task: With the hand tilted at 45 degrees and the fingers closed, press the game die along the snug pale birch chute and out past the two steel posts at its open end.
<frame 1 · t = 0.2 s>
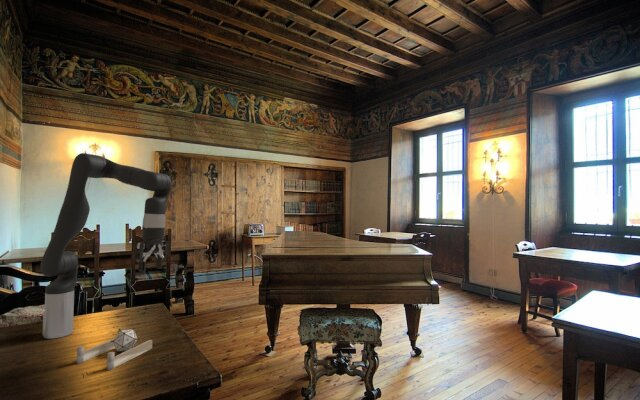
hand: (150, 270, 120), 29 cm above the table, tool pointing down, fingers open, 8 cm apart
chute: (117, 354, 115), on the table
game die: (125, 351, 118), on the table
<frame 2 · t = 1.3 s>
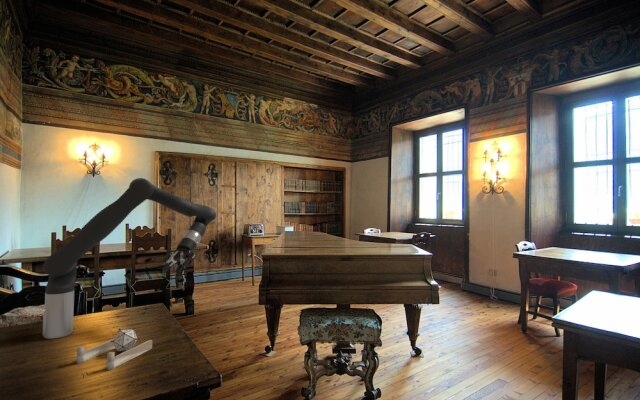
hand: (170, 272, 139), 24 cm above the table, tool tilted 45°, fingers open, 6 cm apart
nothing on the table moved.
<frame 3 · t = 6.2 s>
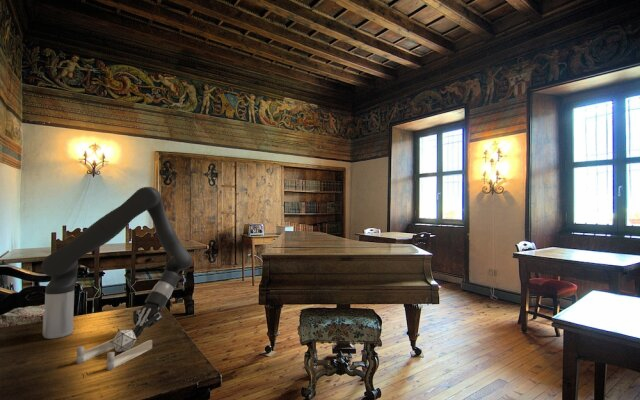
hand: (134, 336, 121), 4 cm above the table, tool tilted 45°, fingers closed
game die: (124, 352, 117), on the table, touching gripper
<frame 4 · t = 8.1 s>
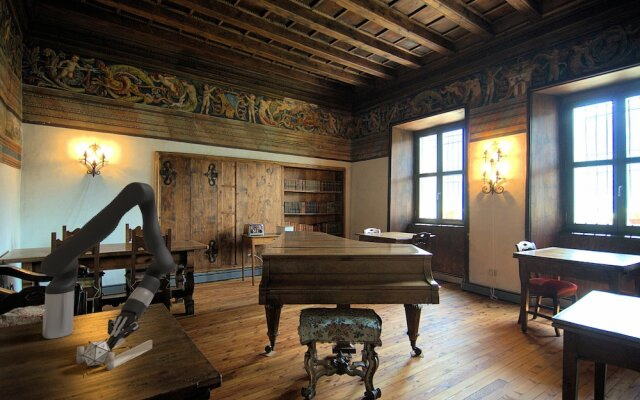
hand: (107, 348, 111), 4 cm above the table, tool tilted 45°, fingers closed
game die: (96, 365, 107), on the table, touching gripper
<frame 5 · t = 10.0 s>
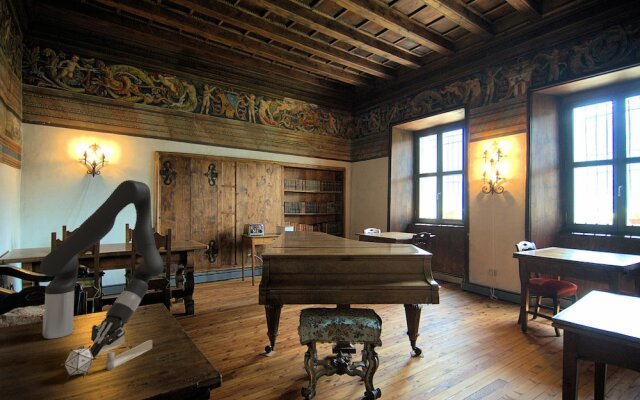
hand: (90, 356, 105), 4 cm above the table, tool tilted 45°, fingers closed
game die: (79, 374, 101), on the table, touching gripper
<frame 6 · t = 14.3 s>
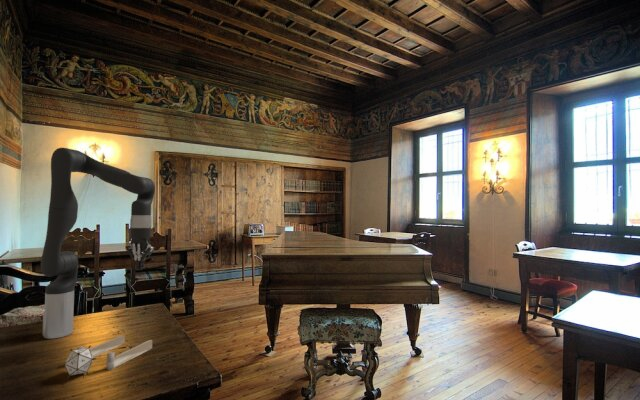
hand: (139, 269, 131), 27 cm above the table, tool pointing down, fingers closed
game die: (78, 375, 101), on the table
at the end: game die inside the target area (3.8 cm from its centre), on the table; game die tilted 0°; game die moved 17.2 cm from its start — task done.
